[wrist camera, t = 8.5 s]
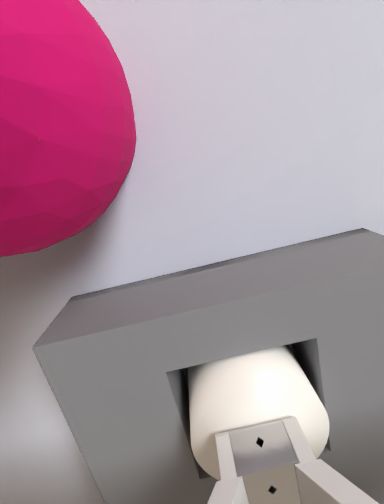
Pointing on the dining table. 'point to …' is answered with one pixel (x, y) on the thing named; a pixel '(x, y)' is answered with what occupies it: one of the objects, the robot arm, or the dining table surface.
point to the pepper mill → (58, 123)
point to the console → (217, 348)
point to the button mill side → (251, 400)
